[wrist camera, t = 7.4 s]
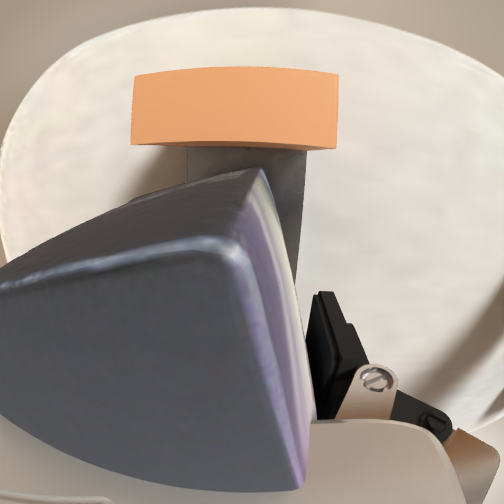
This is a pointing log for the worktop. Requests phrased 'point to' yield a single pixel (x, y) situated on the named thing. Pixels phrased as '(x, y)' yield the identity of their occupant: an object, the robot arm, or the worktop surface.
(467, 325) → the worktop surface
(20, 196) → the worktop surface
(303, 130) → the vise slide jaw
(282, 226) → the grey bent bar
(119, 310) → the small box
